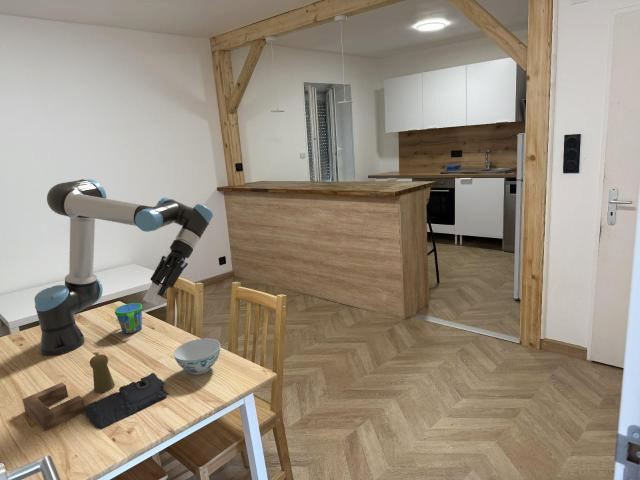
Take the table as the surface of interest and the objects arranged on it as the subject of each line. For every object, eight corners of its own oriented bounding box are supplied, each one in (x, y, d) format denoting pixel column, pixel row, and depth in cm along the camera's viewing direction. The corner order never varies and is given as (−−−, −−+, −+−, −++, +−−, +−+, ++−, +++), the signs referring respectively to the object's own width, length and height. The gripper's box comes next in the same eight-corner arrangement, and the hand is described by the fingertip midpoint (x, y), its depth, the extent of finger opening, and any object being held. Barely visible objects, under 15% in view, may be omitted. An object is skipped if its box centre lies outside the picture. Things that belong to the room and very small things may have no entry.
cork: (106, 393, 138) (99, 361, 135) (89, 392, 139) (82, 361, 136) (118, 383, 143) (112, 352, 141) (102, 382, 145) (95, 351, 142)
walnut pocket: (64, 393, 140) (62, 382, 139) (85, 410, 129) (83, 398, 128) (25, 411, 132) (22, 399, 131) (44, 431, 121) (41, 418, 120)
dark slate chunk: (79, 412, 130) (76, 397, 129) (151, 379, 145) (149, 366, 144) (98, 433, 119) (94, 418, 118) (173, 396, 134) (171, 382, 133)
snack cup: (146, 334, 179) (142, 311, 177) (118, 340, 175) (113, 317, 173) (145, 321, 193) (141, 299, 191) (119, 326, 189) (114, 304, 187)
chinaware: (168, 372, 147) (164, 351, 146) (207, 354, 158) (204, 334, 156) (192, 387, 137) (189, 364, 135) (232, 366, 148) (229, 345, 146)
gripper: (205, 251, 156) (171, 312, 147) (179, 247, 166) (145, 302, 158) (190, 240, 150) (153, 302, 142) (164, 236, 161) (128, 293, 153)
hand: (149, 302), depth 150 cm, fingers open, 4 cm apart
